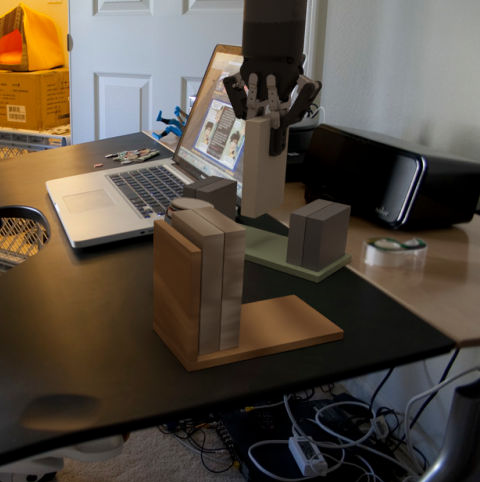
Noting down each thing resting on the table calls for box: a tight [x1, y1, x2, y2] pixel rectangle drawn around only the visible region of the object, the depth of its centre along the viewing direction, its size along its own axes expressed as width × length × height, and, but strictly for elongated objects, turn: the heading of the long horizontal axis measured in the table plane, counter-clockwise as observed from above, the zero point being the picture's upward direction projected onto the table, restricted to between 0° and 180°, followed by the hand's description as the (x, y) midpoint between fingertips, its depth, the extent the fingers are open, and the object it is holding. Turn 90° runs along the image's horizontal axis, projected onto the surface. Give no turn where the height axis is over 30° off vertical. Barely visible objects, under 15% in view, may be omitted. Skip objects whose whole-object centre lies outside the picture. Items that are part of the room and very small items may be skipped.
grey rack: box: [182, 175, 353, 284], centre depth 89 cm, size 23×9×8 cm, turn 43°
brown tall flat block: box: [240, 112, 290, 219], centre depth 86 cm, size 2×7×13 cm, turn 133°
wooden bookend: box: [152, 206, 345, 373], centre depth 67 cm, size 18×9×14 cm, turn 107°
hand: (265, 153), depth 85 cm, fingers closed on brown tall flat block, 2 cm apart
